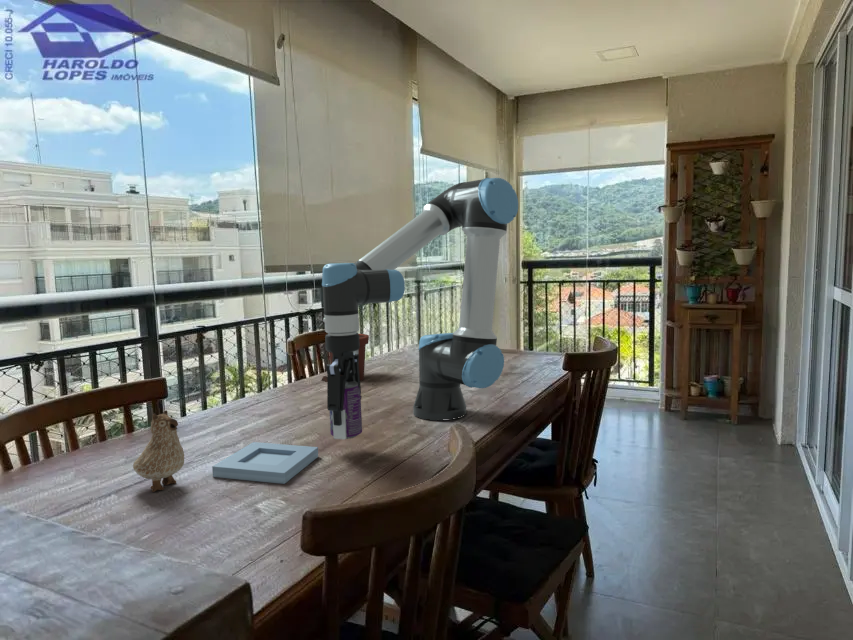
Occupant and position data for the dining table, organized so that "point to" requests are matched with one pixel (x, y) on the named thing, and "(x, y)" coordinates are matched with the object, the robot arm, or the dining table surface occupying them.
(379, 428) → the dining table surface
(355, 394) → the beverage can
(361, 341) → the potted plant
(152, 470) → the figurine
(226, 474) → the baseplate
